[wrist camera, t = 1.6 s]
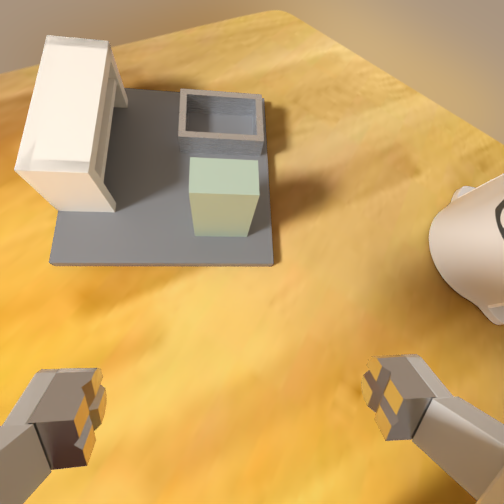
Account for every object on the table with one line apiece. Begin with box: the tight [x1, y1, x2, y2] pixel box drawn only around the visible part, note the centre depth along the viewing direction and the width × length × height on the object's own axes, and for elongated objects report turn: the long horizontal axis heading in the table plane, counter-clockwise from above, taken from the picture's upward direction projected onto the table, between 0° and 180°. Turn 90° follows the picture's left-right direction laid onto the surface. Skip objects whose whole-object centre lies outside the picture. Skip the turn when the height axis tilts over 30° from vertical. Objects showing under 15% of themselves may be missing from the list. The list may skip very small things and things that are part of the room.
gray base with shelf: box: [14, 35, 274, 266], centre depth 34 cm, size 24×24×9 cm
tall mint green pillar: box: [189, 157, 260, 237], centre depth 31 cm, size 6×4×10 cm
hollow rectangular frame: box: [178, 89, 264, 156], centre depth 38 cm, size 10×7×3 cm
